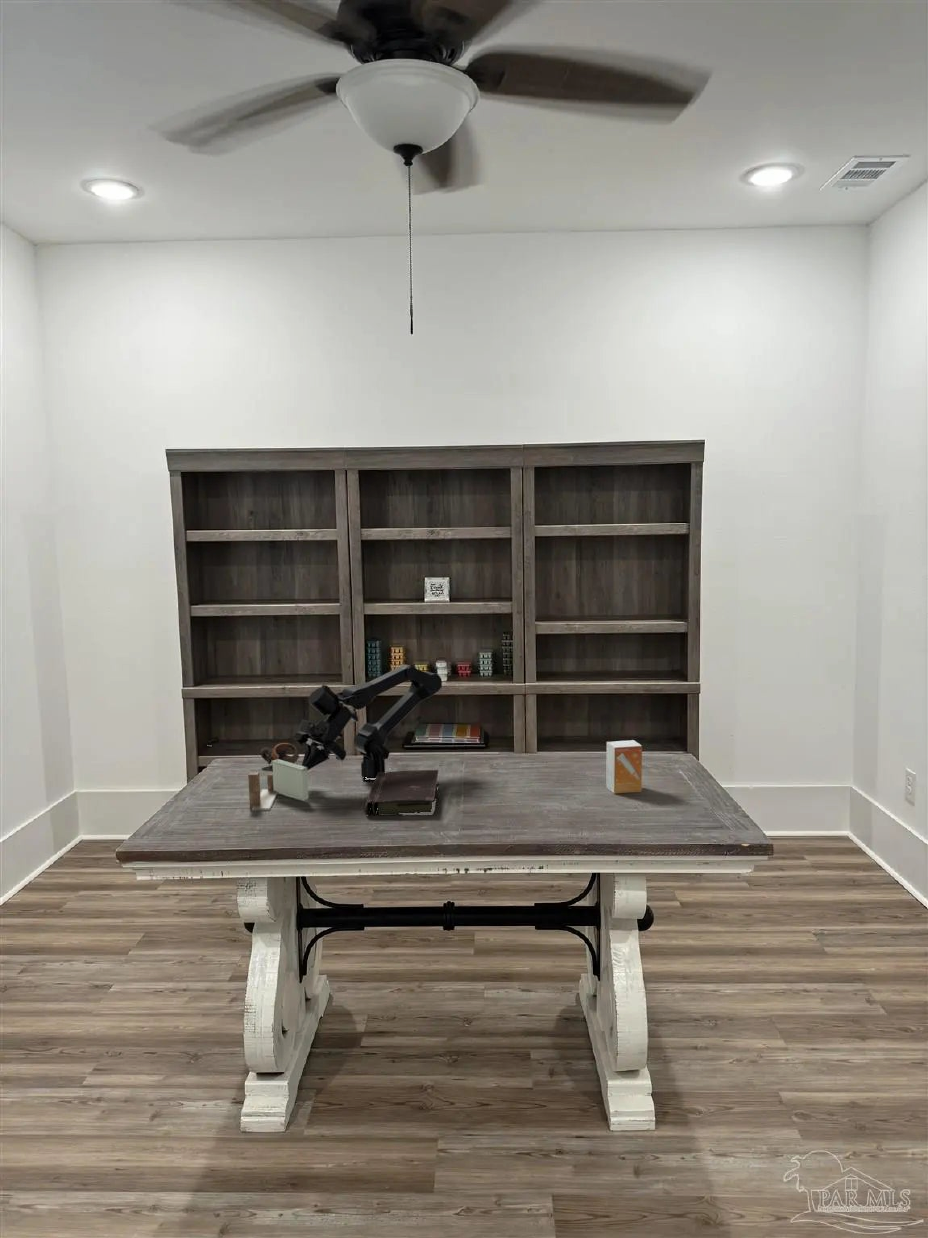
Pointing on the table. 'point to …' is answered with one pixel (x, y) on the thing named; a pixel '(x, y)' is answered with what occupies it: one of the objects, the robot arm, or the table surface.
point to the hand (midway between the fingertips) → (301, 771)
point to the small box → (624, 766)
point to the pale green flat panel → (290, 779)
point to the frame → (266, 796)
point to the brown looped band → (279, 753)
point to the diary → (403, 792)
